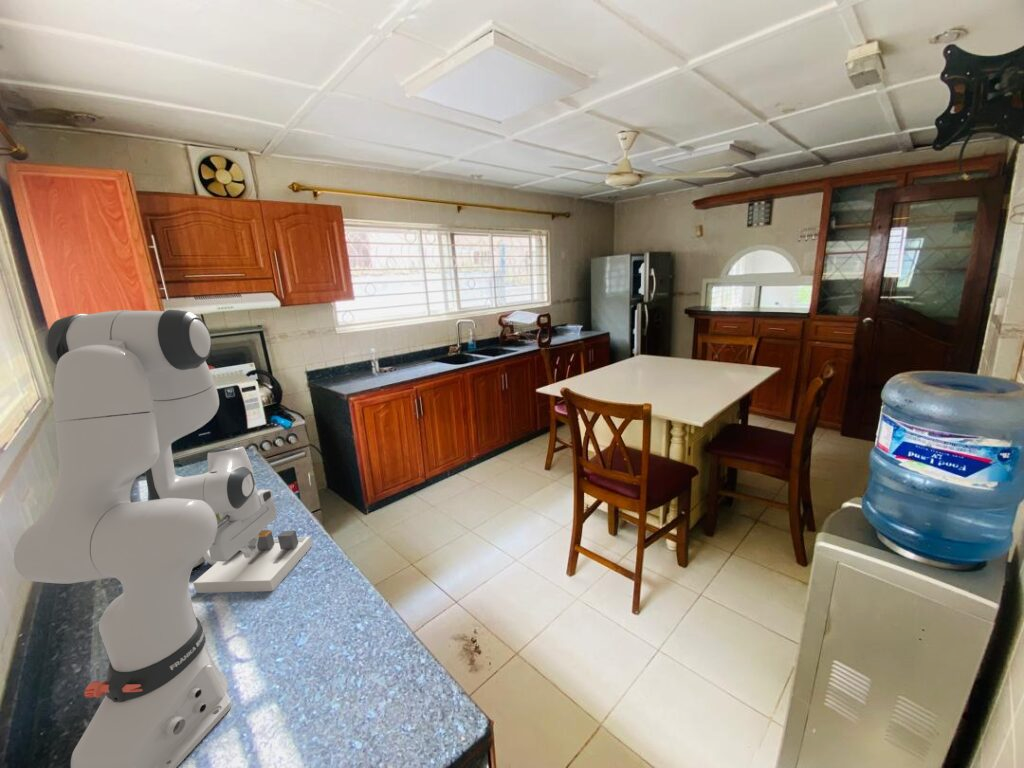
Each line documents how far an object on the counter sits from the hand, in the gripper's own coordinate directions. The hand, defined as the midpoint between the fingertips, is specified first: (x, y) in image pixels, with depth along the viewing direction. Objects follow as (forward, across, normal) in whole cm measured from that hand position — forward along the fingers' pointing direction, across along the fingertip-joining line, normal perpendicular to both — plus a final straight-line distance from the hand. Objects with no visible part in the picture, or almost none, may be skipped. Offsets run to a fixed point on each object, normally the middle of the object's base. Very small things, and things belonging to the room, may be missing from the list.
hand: (251, 554), depth 107 cm
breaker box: (+5, +1, 0) cm, 5 cm away
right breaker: (+1, +5, -7) cm, 9 cm away
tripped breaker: (+1, +5, 0) cm, 5 cm away
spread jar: (+5, +3, +19) cm, 20 cm away
